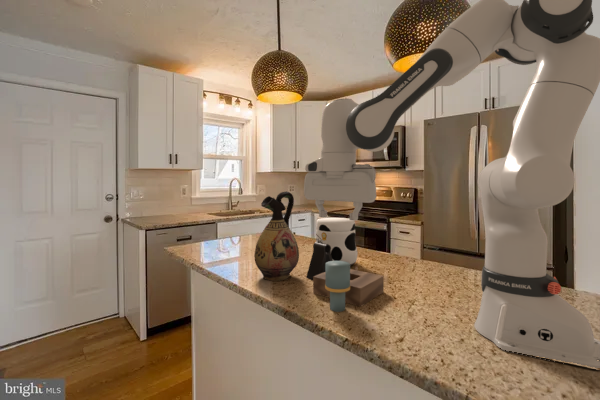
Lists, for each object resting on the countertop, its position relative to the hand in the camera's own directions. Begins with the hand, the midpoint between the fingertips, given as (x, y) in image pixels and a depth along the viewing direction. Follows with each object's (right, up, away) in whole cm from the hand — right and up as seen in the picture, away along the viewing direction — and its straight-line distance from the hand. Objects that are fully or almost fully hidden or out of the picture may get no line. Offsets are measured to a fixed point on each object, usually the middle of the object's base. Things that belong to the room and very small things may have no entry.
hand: (337, 218), depth 82 cm
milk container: (+4, -21, +45) cm, 50 cm away
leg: (0, -24, +1) cm, 24 cm away
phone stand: (-2, -22, +28) cm, 36 cm away
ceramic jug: (-17, -22, +29) cm, 40 cm away
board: (+5, -23, +13) cm, 27 cm away
